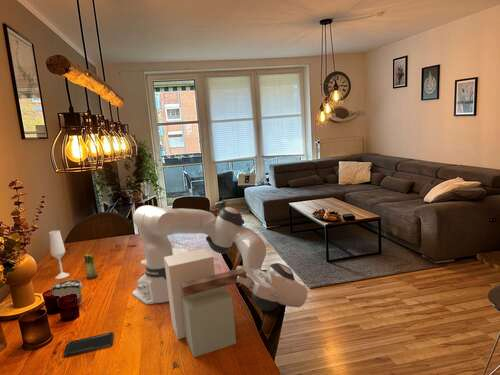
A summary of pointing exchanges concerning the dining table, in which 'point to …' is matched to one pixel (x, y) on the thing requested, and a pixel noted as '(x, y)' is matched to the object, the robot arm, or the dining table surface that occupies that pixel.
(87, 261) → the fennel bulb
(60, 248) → the champagne flute
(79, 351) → the phone
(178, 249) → the medallion
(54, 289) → the food container
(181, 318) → the white pedestal
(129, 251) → the dining table surface
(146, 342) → the dining table surface
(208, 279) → the walnut bar
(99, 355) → the dining table surface
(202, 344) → the sage base
